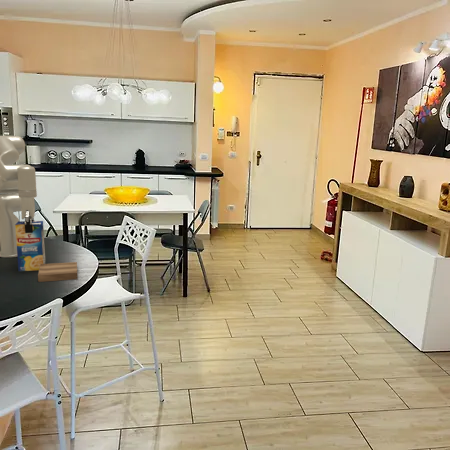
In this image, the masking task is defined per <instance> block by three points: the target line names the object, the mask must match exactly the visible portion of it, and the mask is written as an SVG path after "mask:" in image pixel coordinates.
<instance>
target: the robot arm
mask: <svg viewBox="0 0 450 450" xmlns="http://www.w3.org/2000/svg"><path fill="white" fill-rule="evenodd" d="M25 149H26V143H25V140H24V139H23V138H22V137H21V136H19V135H0V257H1V258H16V257H17V243H16V228H15V224H16V223H17V222H18V221H20V219H19V217H17V216H16V215H15V213H17V212H21V220H24V221H25V233H33V225H32V221H35V215H36V214H35V213H36V208H35V207H36V206H35V198H37V197H38V196H37V195H38V192H37V191H38V190H37V178H36V177H37V175H36V169H35V167H34V166H31V165H29V164H23V163H22V164H15V163H16V162H17V161H19V159H20V155H21V154H22V153H24V151H25ZM17 258H18V257H17Z"/></svg>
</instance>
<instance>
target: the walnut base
mask: <svg viewBox="0 0 450 450" xmlns="http://www.w3.org/2000/svg"><path fill="white" fill-rule="evenodd" d="M70 280H71V281H72V280H73V281H74V280H78V261H71V262H54V263H53V262H52V263H45V264H40V269H39V270H38V274H37V281H38V282H39V283H44V282H57V281H58V282H59V281H70Z"/></svg>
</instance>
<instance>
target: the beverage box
mask: <svg viewBox="0 0 450 450" xmlns="http://www.w3.org/2000/svg"><path fill="white" fill-rule="evenodd" d="M32 225H33V233H25V220H21V221H20V220H19V221H18V222H17V223H16V224H15V228H16V243H17V269H18V272H29V271H31V272H32V271H39V269H40V264H46V250H45V249H46V248H45V246H46V245H45V233H44V232H45V231H44V220H34V221H32Z"/></svg>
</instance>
